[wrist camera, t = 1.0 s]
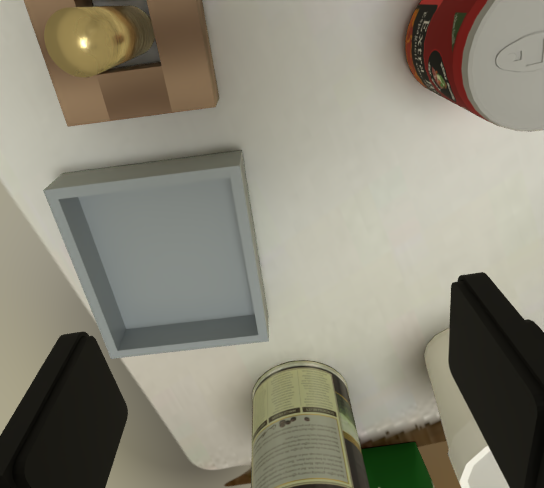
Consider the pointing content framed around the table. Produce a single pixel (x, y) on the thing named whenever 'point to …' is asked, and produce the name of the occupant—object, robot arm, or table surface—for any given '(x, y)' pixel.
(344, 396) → the coffee can
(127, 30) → the pin
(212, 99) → the pin bracket
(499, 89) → the canned food
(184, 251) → the pin tray
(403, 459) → the milk carton
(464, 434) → the foam cup
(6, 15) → the table surface
